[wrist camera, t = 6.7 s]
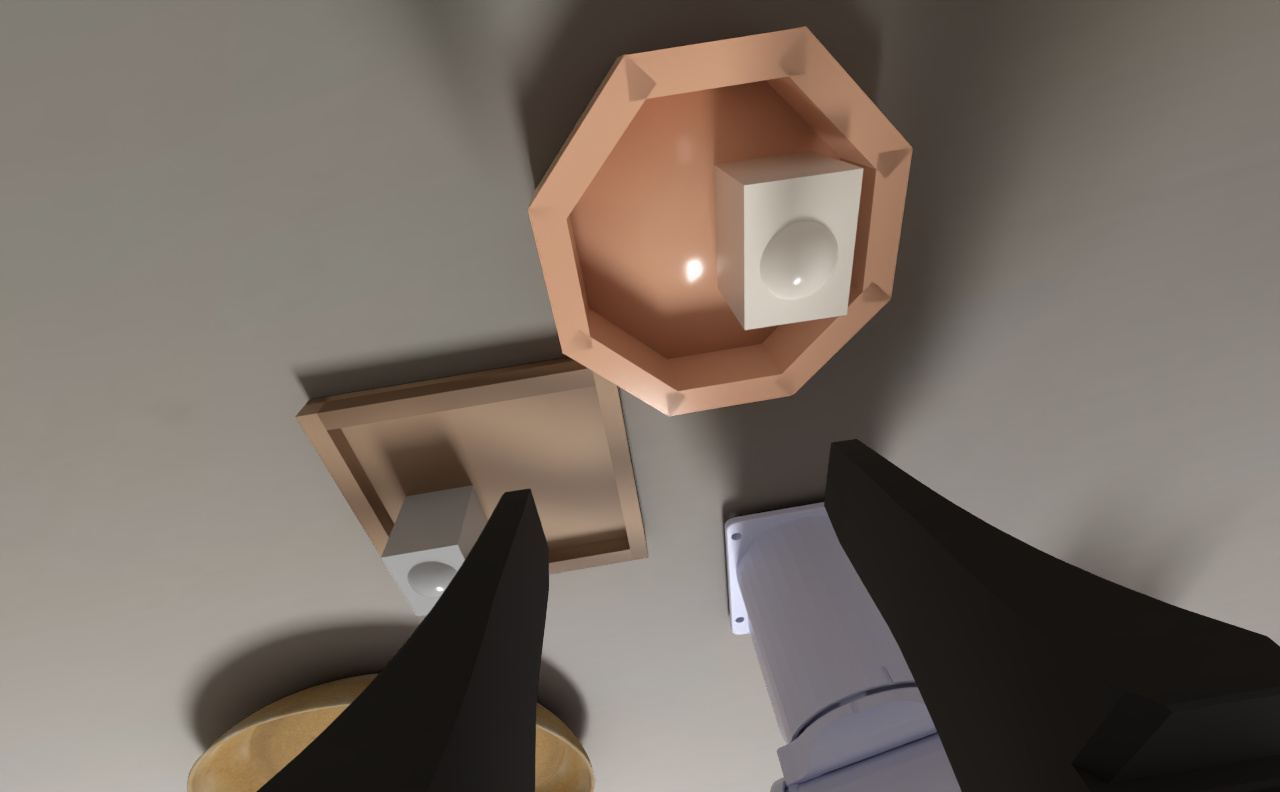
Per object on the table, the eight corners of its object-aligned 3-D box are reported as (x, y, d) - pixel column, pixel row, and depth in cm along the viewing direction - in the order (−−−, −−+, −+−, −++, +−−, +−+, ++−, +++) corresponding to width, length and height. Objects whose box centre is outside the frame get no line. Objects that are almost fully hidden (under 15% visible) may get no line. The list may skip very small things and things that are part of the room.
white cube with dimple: (497, 543, 25) (484, 617, 21) (435, 553, 25) (412, 629, 21) (472, 485, 23) (454, 556, 19) (405, 496, 23) (375, 570, 19)
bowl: (843, 344, 21) (879, 381, 19) (580, 388, 21) (580, 431, 19) (875, 16, 15) (934, 5, 13) (508, 74, 15) (494, 74, 13)
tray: (645, 538, 26) (648, 557, 25) (413, 578, 26) (406, 598, 25) (611, 350, 20) (612, 364, 19) (309, 399, 20) (295, 417, 19)
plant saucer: (456, 840, 44) (447, 892, 42) (149, 769, 34) (110, 832, 31) (662, 723, 37) (669, 776, 34) (357, 585, 26) (331, 646, 24)
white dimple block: (803, 275, 19) (857, 324, 15) (717, 288, 19) (750, 340, 15) (811, 150, 16) (876, 172, 13) (713, 164, 16) (751, 190, 13)
